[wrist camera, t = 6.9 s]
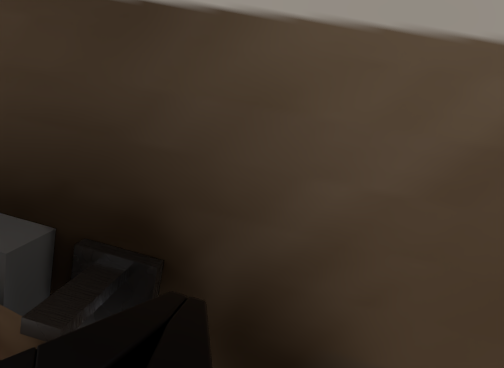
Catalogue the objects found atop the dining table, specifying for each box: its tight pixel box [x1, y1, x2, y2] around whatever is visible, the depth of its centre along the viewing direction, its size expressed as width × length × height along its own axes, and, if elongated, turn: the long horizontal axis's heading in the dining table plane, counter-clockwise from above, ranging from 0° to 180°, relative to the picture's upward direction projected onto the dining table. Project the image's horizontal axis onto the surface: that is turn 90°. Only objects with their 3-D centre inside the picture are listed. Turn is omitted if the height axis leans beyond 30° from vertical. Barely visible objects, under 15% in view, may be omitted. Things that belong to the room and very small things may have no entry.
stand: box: [20, 239, 164, 342], centre depth 20 cm, size 11×5×7 cm, turn 168°
